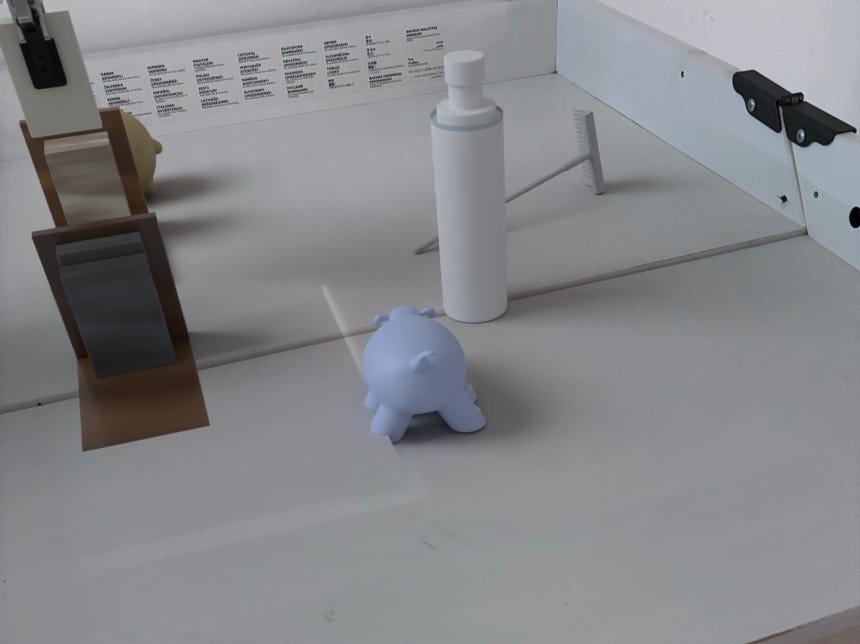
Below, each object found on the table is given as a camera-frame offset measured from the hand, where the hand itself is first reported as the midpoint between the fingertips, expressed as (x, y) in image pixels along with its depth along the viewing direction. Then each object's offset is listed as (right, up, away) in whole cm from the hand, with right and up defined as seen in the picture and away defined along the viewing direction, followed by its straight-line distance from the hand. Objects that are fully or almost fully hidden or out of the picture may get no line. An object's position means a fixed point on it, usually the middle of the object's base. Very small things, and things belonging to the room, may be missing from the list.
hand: (50, 80), depth 97 cm
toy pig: (-3, +2, +30) cm, 30 cm away
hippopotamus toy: (+37, -35, -8) cm, 51 cm away
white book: (0, -3, +3) cm, 5 cm away
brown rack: (+11, -33, -5) cm, 35 cm away
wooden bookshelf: (-1, -11, +17) cm, 20 cm away
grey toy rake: (+47, -5, +21) cm, 51 cm away
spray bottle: (+42, -21, +5) cm, 47 cm away
